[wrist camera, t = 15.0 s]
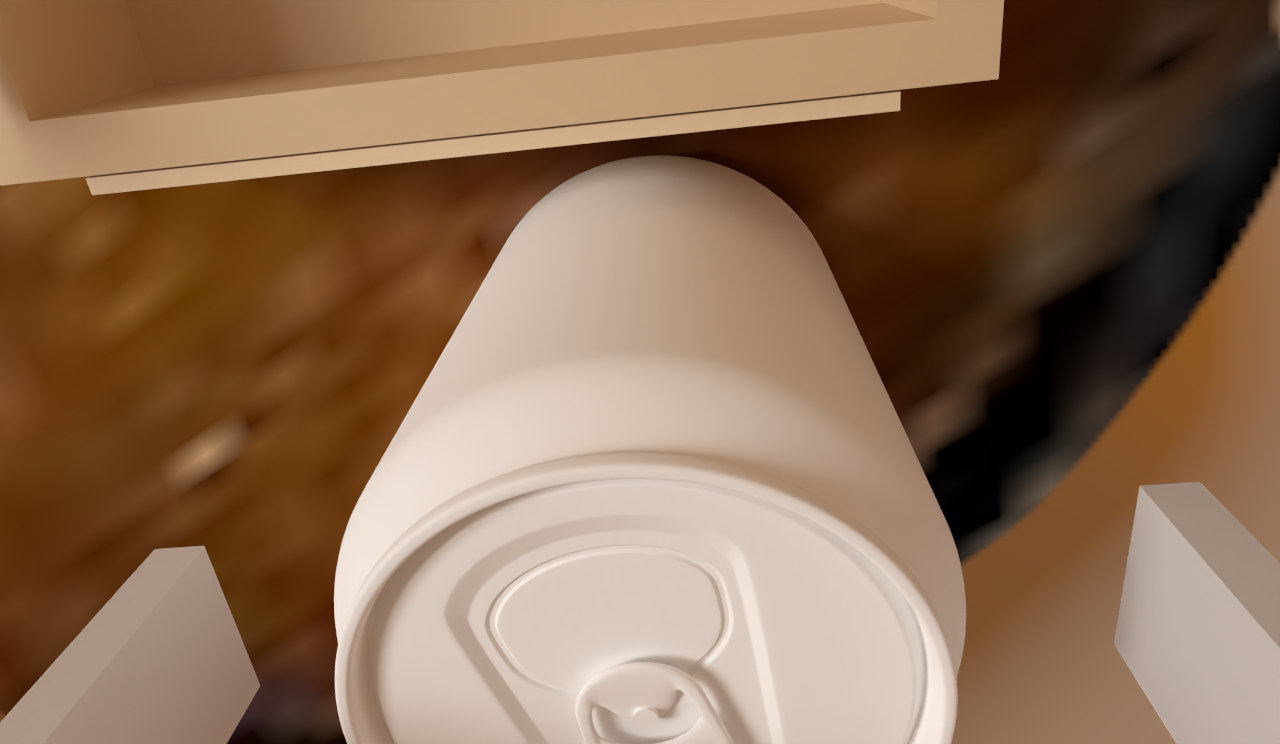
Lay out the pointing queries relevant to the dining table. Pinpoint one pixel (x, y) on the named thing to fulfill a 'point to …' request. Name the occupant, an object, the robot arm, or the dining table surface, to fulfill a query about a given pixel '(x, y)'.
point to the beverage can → (651, 498)
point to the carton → (440, 77)
